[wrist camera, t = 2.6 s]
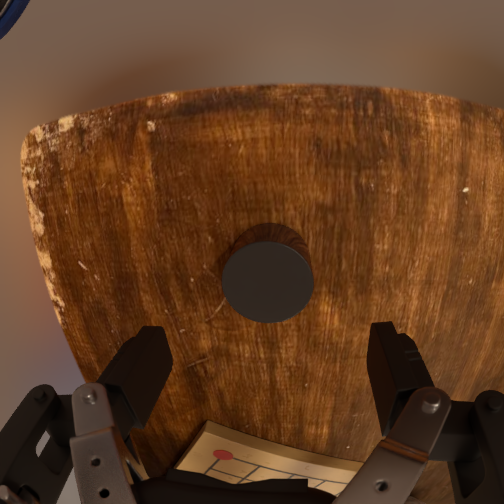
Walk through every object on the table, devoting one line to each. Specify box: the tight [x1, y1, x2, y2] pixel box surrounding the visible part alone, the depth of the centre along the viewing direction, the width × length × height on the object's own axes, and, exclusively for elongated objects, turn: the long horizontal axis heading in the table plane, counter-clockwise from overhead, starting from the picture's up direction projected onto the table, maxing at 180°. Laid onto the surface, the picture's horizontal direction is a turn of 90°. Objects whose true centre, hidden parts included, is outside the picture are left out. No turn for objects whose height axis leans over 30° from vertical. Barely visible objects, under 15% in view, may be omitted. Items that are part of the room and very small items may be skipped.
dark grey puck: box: [222, 223, 314, 323], centre depth 18 cm, size 5×5×3 cm
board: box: [174, 420, 364, 497], centre depth 30 cm, size 22×22×2 cm
